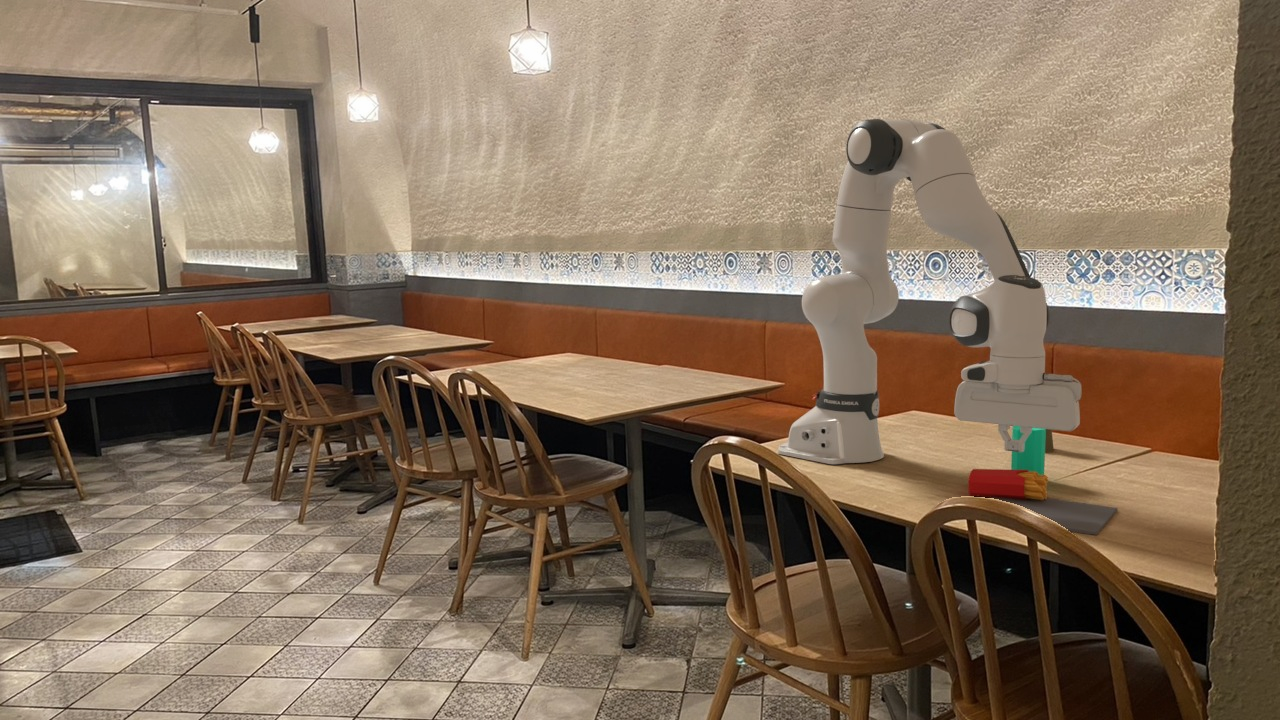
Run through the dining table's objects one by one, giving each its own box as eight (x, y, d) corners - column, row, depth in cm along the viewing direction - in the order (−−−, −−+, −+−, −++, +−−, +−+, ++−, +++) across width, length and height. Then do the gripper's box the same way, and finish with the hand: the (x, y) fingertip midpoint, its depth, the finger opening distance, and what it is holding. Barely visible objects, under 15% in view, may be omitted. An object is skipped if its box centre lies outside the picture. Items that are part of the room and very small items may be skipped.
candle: (1040, 486, 186) (1043, 423, 184) (1007, 482, 189) (1009, 420, 187) (1046, 479, 191) (1049, 417, 189) (1014, 475, 194) (1016, 415, 192)
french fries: (974, 465, 185) (1049, 468, 179) (975, 487, 186) (1050, 491, 180) (966, 477, 177) (1044, 480, 171) (967, 500, 178) (1045, 504, 172)
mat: (970, 515, 169) (970, 512, 169) (997, 493, 181) (998, 491, 181) (1096, 535, 157) (1096, 532, 157) (1117, 510, 170) (1117, 507, 170)
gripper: (1086, 373, 165) (1083, 454, 167) (963, 365, 177) (962, 441, 179) (1077, 378, 160) (1074, 462, 162) (952, 369, 172) (950, 447, 174)
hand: (1014, 450), depth 171 cm, fingers closed
